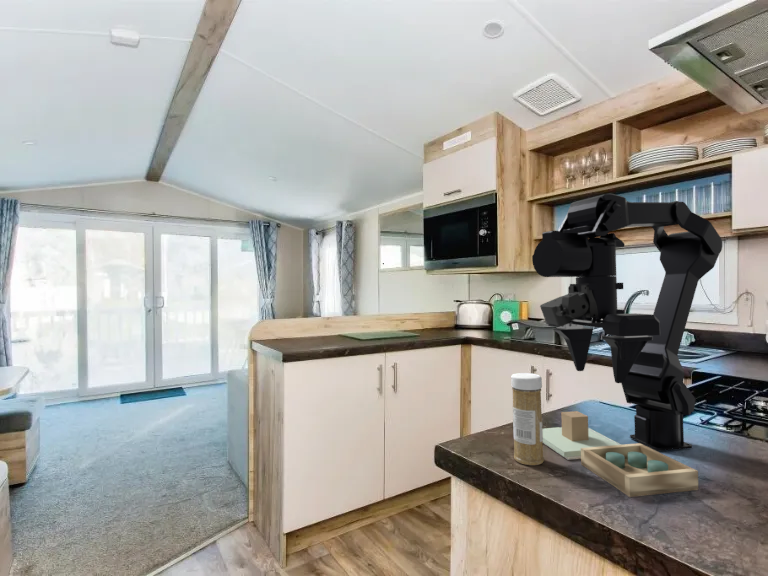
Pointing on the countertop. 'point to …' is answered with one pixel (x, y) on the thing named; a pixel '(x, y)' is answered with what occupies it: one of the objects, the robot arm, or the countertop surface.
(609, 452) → the box
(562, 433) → the lid
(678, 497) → the countertop surface
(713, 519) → the countertop surface
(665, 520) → the countertop surface
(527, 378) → the sprinkles bottle
